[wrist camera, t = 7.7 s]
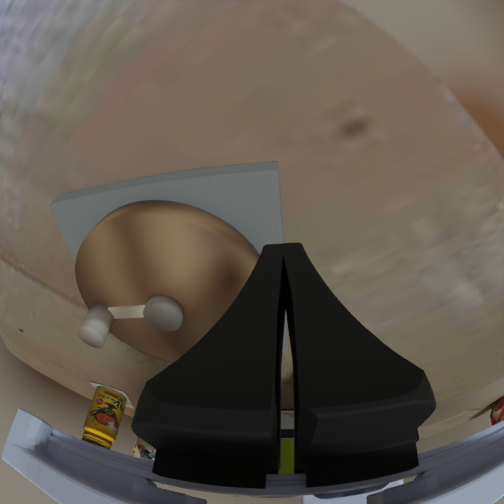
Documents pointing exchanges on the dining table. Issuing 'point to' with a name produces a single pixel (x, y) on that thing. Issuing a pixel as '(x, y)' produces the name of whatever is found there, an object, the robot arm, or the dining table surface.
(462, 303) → the dining table surface
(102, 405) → the condiment
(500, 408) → the flower
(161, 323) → the handwheel
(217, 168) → the base plate
